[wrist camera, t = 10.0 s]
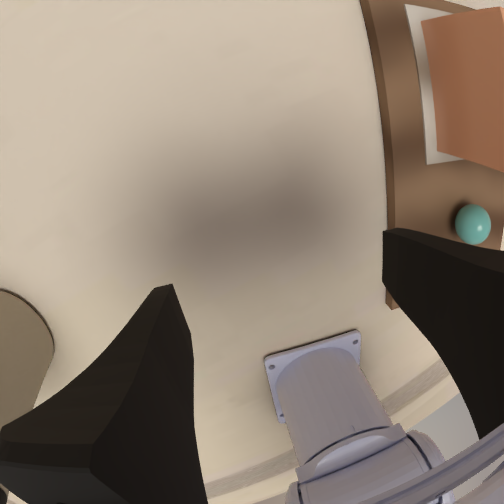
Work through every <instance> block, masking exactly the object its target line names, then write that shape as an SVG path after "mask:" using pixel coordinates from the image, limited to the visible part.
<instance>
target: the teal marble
mask: <svg viewBox="0 0 504 504" xmlns="http://www.w3.org/2000/svg"><path fill="white" fill-rule="evenodd" d="M455 229H456V232H457V234H458V236H459V237H460V239H461V240H462V241H464V242H465V243H467V244H471V245H476V244H480V243H482V242H483V241H484V240H485V239H486V238H487V237H488V235H489V233H490V230H491V220H490V217H489V215H488V213H487V211H486V210H485V209H484V208H483V207H481V206H479V205H476V204H468V205H466V206H464V207H462V208H461V209H460V210H459V212H458V213H457V216H456V219H455Z"/></svg>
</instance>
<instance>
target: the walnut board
mask: <svg viewBox="0 0 504 504" xmlns="http://www.w3.org/2000/svg"><path fill="white" fill-rule="evenodd" d="M360 3H361V7H362V11H363V16H364V20H365V24H366V29H367V34H368V38H369V43H370V48H371V54H372V59H373V65H374V71H375V77H376V83H377V90H378V97H379V105H380V113H381V121H382V131H383V141H384V152H385V166H386V183H387V210H388V230H390V229H393V228H405V229H411V230H415V231H419V232H423V233H427V234H431V235H435V236H438V237H442V238H446V239H450V240H453V241H457V242H461V243H465V242H464V241H462V240H461V239H460V237H459V236H458V234H457V232H456V229H455V219H456V216H457V213H458V212H459V210H460V209H461V208H462V207H464V206H466V205H468V204H476V205H479V206H481V207H483V208H484V209H485V210H486V211H487V213H488V215H489V217H490V220H491V230H490V233H489V235H488V237H487V238H486V239H485V240H484V241H483V242H482V243H480V244H476V245H474V246H478V247H483V248H489V249H495V250H500V247H501V241H502V234H503V227H504V172H501V171H498V170H495V169H492V168H490V167H487V166H484V165H481V164H478V163H475V162H472V161H469V160H466V159H462V158H459V157H456V156H453V155H449V154H446V153H442V152H439V151H437V139H436V123H435V111H434V101H433V92H432V84H431V76H430V69H429V63H428V57H427V51H426V46H425V40H424V35H423V31H422V26H421V21H423V20H428V19H432V18H436V17H441V16H445V15H450V14H455V13H461V12H466V11H472V10H475V9H472V8H469V7H466V6H462V5H459V4H455V3H452V2H448V1H444V0H360ZM466 244H467V243H466ZM470 245H471V244H470ZM386 304H387V305H388V306H389V308H390V309H391V310H393V309H396V308H399V306H398V304H397V303H396V302H395V301H394V299H393V298H392V296H391V295H390V293H389V292H388V290H386Z"/></svg>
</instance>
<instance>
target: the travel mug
mask: <svg viewBox="0 0 504 504" xmlns="http://www.w3.org/2000/svg"><path fill="white" fill-rule="evenodd" d="M53 353H54V347H53V341H52V338H51V335H50V333H49V331H48V329H47V327H46V325H45V324H44V322H43V321H42V319H41V318H40V317H39V316H38V315H37V313H36V312H35V311H34V310H33V309H32V308H31V307H30V306H28V305H27V304H26V303H25V302H23V301H22V300H20V299H19V298H17V297H15V296H13V295H11V294H9V293H6V292H3V291H0V431H1V428H2V426H4V425H6V424H8V423H10V422H12V421H13V420H15V419H17V418H19V417H20V416H22V415H24V414H26V413H28V412H29V411H31V410H33V407H34V404H35V401H36V398H37V396H38V393H39V390H40V388H41V385H42V382H43V380H44V377H45V375H46V372H47V370H48V367H49V365H50V363H51V360H52V358H53ZM8 493H9V490H8V489H7V488H5V487H4V486H3V485H2V484H0V504H6V503H7V498H8Z"/></svg>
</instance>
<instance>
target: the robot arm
mask: <svg viewBox="0 0 504 504" xmlns="http://www.w3.org/2000/svg"><path fill="white" fill-rule="evenodd" d="M382 282H383V284H384V285H385V287H386V288H387V290H388V292H389V293H390V295H391V296H392V298H393V299H394V301H395V302H396V303H397V304H398V306H399V307H400V308H401V309H402V310H403V312H404V313H405V314H406V315H407V316H408V317H409V318H410V320H411V321H412V322H413V323H414V324H415V325H416V327H417V328H418V329H419V330H420V331H421V332H422V334H423V335H424V336H425V337H426V338H427V339H428V341H429V342H430V343H431V344H432V346H433V347H434V348H435V350H436V351H437V353H438V354H439V356H440V357H441V359H442V360H443V362H444V364H445V365H446V367H447V369H448V370H449V372H450V374H451V376H452V377H453V379H454V381H455V383H456V385H457V387H458V389H459V390H460V393H461V395H462V397H463V399H464V401H465V403H466V406H467V408H468V410H469V412H470V415H471V417H472V420H473V423H474V425H475V428H476V431H477V434H478V437H479V441H477V442H476V443H474V444H473V445H471V446H470V447H468V448H467V449H465V450H464V451H462V452H460V453H459V454H457V455H456V456H454V457H452V458H451V459H449V460H447V461H445V459H444V457H443V456H442V453H441V452H440V450H439V449H438V447H437V446H436V444H435V443H434V442H433V440H432V439H431V438H430V437H429V436H428V435H426V434H424V433H421V432H418V431H416V430H411V431H409V432H407V433H405V431H404V430H403V428H402V426H401V425H400V423H397V424H395V425H393V423H392V421H391V420H390V418H389V416H388V414H387V413H386V411H385V409H384V408H383V406H382V404H381V402H380V401H379V399H378V397H377V396H376V394H375V392H374V390H373V389H372V387H371V385H370V384H369V382H368V380H367V379H366V377H365V375H364V374H363V372H362V370H361V369H360V367H359V366H360V346H361V334H360V332H359V331H358V330H354V331H351V332H348V333H345V334H342V335H339V336H335V337H332V338H329V339H326V340H323V341H319V342H316V343H313V344H309V345H306V346H302V347H299V348H295V349H292V350H288V351H285V352H281V353H277V354H273V355H270V356H267V357H266V358H265V359H264V364H265V368H266V372H267V377H268V381H269V385H270V389H271V393H272V397H273V401H274V405H275V409H276V414H277V418H278V421H279V423H286V424H287V428H288V431H289V434H290V437H291V440H292V443H293V447H294V450H295V453H296V456H297V459H298V462H299V465H300V467H298V468H296V469H295V470H296V473H297V477H298V480H299V481H296V482H293V483H291V484H290V486H289V489H288V491H287V493H286V495H285V504H504V461H503V462H502V463H501V464H500V465H499V466H498V467H497V469H496V470H495V471H493V472H492V474H490V475H489V476H488V477H487V478H486V479H485V480H484V481H483V482H482V484H481V485H480V486H478V487H477V488H475V489H474V490H472V491H471V492H469V493H468V494H466V495H465V496H464V497H462V498H460V499H459V500H457V501H455V498H454V494H453V491H452V489H454V488H455V487H457V486H459V485H460V484H462V483H464V482H465V481H467V480H468V479H470V478H471V477H472V476H474V475H475V474H477V473H479V472H480V471H481V470H483V469H484V468H486V467H487V466H488V465H490V464H491V463H493V462H494V461H495V460H497V459H498V458H499V457H501V456H502V455H503V454H504V251H501V250H495V249H489V248H483V247H478V246H474V245H470V244H466V243H461V242H457V241H453V240H450V239H446V238H442V237H438V236H435V235H431V234H427V233H423V232H419V231H415V230H411V229H405V228H393V229H390V230H386V231H383V269H382ZM354 340H355V341H354ZM270 365H273V366H270ZM0 484H2V485H3V486H4V487H5V488H7V489H8V490H9V491H10V492H12V493H13V494H15V495H16V496H17V497H19V498H20V499H22V500H23V501H25V502H26V503H28V504H208V501H207V496H206V492H205V487H204V483H203V478H202V473H201V467H200V461H199V456H198V449H197V442H196V435H195V428H194V357H193V348H192V340H191V333H190V330H189V327H188V325H187V322H186V320H185V317H184V314H183V312H182V309H181V306H180V304H179V301H178V298H177V295H176V293H175V290H174V287H173V284H169V285H165V286H161V287H156V288H154V289H153V290H152V291H151V292H150V294H149V295H148V296H147V298H146V299H145V300H144V302H143V303H142V304H141V306H140V307H139V308H138V310H137V311H136V312H135V314H134V315H133V316H132V318H131V319H130V320H129V322H128V323H127V324H126V326H125V327H124V328H123V329H122V330H121V332H120V333H119V334H118V335H117V336H116V338H115V339H114V340H113V341H112V342H111V344H110V345H109V346H108V347H107V348H106V349H105V350H104V351H103V352H102V354H101V355H100V356H99V357H98V358H97V359H96V360H95V361H94V362H93V363H92V364H91V365H90V366H89V367H87V368H86V369H85V370H84V371H83V372H82V373H81V374H79V375H78V376H77V377H76V378H75V379H74V380H72V381H71V382H70V383H69V384H68V385H67V386H65V387H64V388H63V389H62V390H60V391H59V392H58V393H56V394H55V395H53V396H52V397H51V398H49V399H48V400H46V401H45V402H43V403H42V404H40V405H39V406H37V407H36V408H34V409H33V410H31V411H29V412H28V413H26V414H24V415H22V416H20V417H19V418H17V419H15V420H13V421H12V422H10V423H8V424H6V425H4V426H2V428H1V431H0Z"/></svg>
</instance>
